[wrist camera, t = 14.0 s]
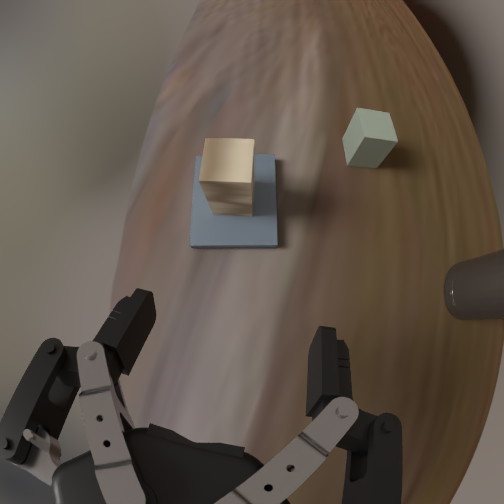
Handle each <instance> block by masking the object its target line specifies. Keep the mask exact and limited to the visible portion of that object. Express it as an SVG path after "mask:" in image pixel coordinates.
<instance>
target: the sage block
mask: <svg viewBox="0 0 504 504" xmlns="http://www.w3.org/2000/svg"><path fill="white" fill-rule="evenodd" d="M342 139H343V145H344V150H345V156H346V162H347V166H356V167H367V168H377V167H378V166H379V165H380V164H381V162H382V161H383V160H384V159H385V157H386V156H387V155H388V154H389V152H390V151H391V150H392V149H393V147H394V146H395V145H396V144H397V142H398V140H397V137H396V133H395V130H394V127H393V123H392V120H391V117H390V114H389V113H386V112H381V111H375V110H369V109H362V108H357V109H356V111H355V113H354V116H353V118H352V120H351V122H350V124H349V126H348V128H347V130H346V132H345V134H344V136H343V138H342Z"/></svg>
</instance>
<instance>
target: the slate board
mask: <svg viewBox="0 0 504 504" xmlns="http://www.w3.org/2000/svg"><path fill="white" fill-rule="evenodd" d="M201 162H202V156H196V164H195V175H194V187H193V199H192V214H191V231H190V246H191V247H192V248H277V245H278V243H277V206H276V177H275V154H254V169H255V182H254V197H253V212H252V217H251V216H233V215H213V213H212V211H211V208H210V206H209V204H208V201H207V199H206V197H205V195H204V192H203V190H202V188H201V185H200V183H199V175H200V169H201Z"/></svg>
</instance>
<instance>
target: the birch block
mask: <svg viewBox="0 0 504 504" xmlns="http://www.w3.org/2000/svg"><path fill="white" fill-rule="evenodd" d="M254 182H255V169H254V139H232V138H206V139H205V144H204V150H203V156H202V162H201V169H200V175H199V183H200V185H201V188H202V190H203V192H204V195H205V197H206V199H207V201H208V204H209V206H210V208H211V211H212V213H213V215H233V216H251V217H252V212H253V197H254Z"/></svg>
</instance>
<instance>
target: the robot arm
mask: <svg viewBox="0 0 504 504" xmlns="http://www.w3.org/2000/svg"><path fill="white" fill-rule="evenodd" d="M444 295H445V301H446V305H447V307H448V310H449V311H450V313H451V314H452V315H453V316H454V317H455V318H458V319H462V320H465V319H504V249H503V250H499V251H496V252H493V253H490V254H487V255H484V256H480V257H477V258H473V259H470V260H467V261H463V262H460V263H457V264H455V265H454V266H453V267H452V268H451V269H450V270H449V272H448V274H447V277H446V280H445V286H444ZM155 320H156V309H155V303H154V297H153V293H152V292H151V291H147V290H143V289H139V288H138V289H136V290H135V291H134V293H133V294H132V296H131V297H128V296H126V297H124V298H123V299H122V300H120V301H119V302H118V303H117V304H116V306H115V307H114V309H113V311H112V312H111V313H110V315H109V318H107V320H106V321H105V323H104V324H103V326H102V327H101V329H100V330H99V332H98V334H97V335H96V337H95V338H94V340H93V341H90V342H86V343H84V344H82V345H81V346H80V347H69V346H63V344H62V342H61V341H60V340H59V339H56V338H49V339H47V340H45V341H44V342H43V343H42V344H41V346H40V348H39V349H38V351H37V352H36V354H35V356H34V357H33V359H32V361H31V363H30V365H29V366H28V368H27V370H26V372H25V373H24V375H23V377H22V379H21V381H20V383H19V385H18V387H17V388H16V390H15V392H14V394H13V397H12V399H11V401H10V403H9V405H8V407H7V409H6V411H5V413H4V415H3V418H2V420H1V422H0V456H1V457H3V458H4V459H6V460H8V461H10V462H11V463H12V464H15V465H16V466H18V467H20V468H22V469H25V470H27V471H28V472H30V473H31V474H33V475H34V476H36V477H37V478H39V479H40V480H42V481H43V482H45V483H47V484H48V485H50V486H51V487H52V493H53V499H54V504H290V503H289V501H288V500H287V497H288V496H289V495H290V494H291V493H293V492H294V491H295V490H296V489H297V488H298V487H299V486H300V485H301V484H302V483H303V482H304V481H305V480H306V479H307V478H308V477H309V476H310V475H311V474H312V473H313V472H314V471H315V470H316V469H317V468H318V467H319V466H320V465H321V464H322V462H323V461H324V460H325V459H326V458H327V456H328V454H329V452H330V451H331V450H332V449H333V448H334V447H335V446H337V447H339V448H342V449H345V450H347V462H346V472H345V482H344V490H343V498H342V504H401V494H402V426H401V422H400V420H399V419H398V417H397V416H395V415H393V414H391V413H383V414H381V415H379V416H375V415H372V414H370V413H367V412H364V411H362V410H361V409H359V408H358V407H357V405H356V404H355V402H354V401H353V398H352V385H351V371H350V361H349V349H348V347H347V346H346V344H345V342H344V340H337V337H336V329H335V328H332V327H325V326H319V327H318V330H317V332H316V334H315V336H314V339H313V341H312V343H311V346H310V349H309V354H308V379H307V401H306V416H309V417H312V422H311V423H310V424H309V425H308V426H307V427H306V428H305V429H304V430H303V431H302V432H301V433H300V434H299V435H298V436H297V437H296V438H295V439H294V440H293V441H292V442H290V443H289V444H288V445H287V446H286V447H285V448H284V449H283V450H282V451H281V452H280V453H278V454H277V455H276V456H275V457H274V458H273V459H272V460H271V461H269V462H268V463H267V464H266V465H265V466H264V465H263V463H261V462H260V461H259V460H258V459H257V458H255V457H254V456H252V455H250V454H248V453H246V452H244V449H245V447H239V446H234V445H229V444H224V443H195V442H192V441H190V440H188V439H187V438H185V437H183V436H181V435H179V434H178V433H176V432H174V431H172V430H169V429H166V428H163V427H160V426H157V425H154V424H151V423H150V425H149V428H135V426H134V423H133V421H132V419H131V417H130V415H129V412H128V409H127V406H126V403H125V399H124V396H123V392H122V389H121V385H120V381H119V377H120V375H121V373H123V374H126V375H128V376H129V374H130V372H131V370H132V367H133V365H134V363H135V361H136V359H137V357H138V355H139V353H140V351H141V349H142V347H143V345H144V343H145V341H146V339H147V337H148V335H149V333H150V331H151V329H152V328H153V326H154V323H155ZM80 387H81V390H82V392H81V393H80V394H79V402H80V407H81V412H82V417H83V422H84V426H85V430H86V435H87V439H88V442H89V446H90V450H89V451H87V452H85V453H83V454H81V455H79V456H77V457H75V458H73V459H71V460H69V461H67V462H65V463H63V464H61V461H60V457H61V447H60V444H59V442H58V441H57V440H58V438H59V435H60V433H61V430H62V428H63V425H64V423H65V420H66V418H67V415H68V413H69V410H70V408H71V406H72V404H73V401H74V399H75V397H76V395H77V392H78V390H79V388H80Z"/></svg>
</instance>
